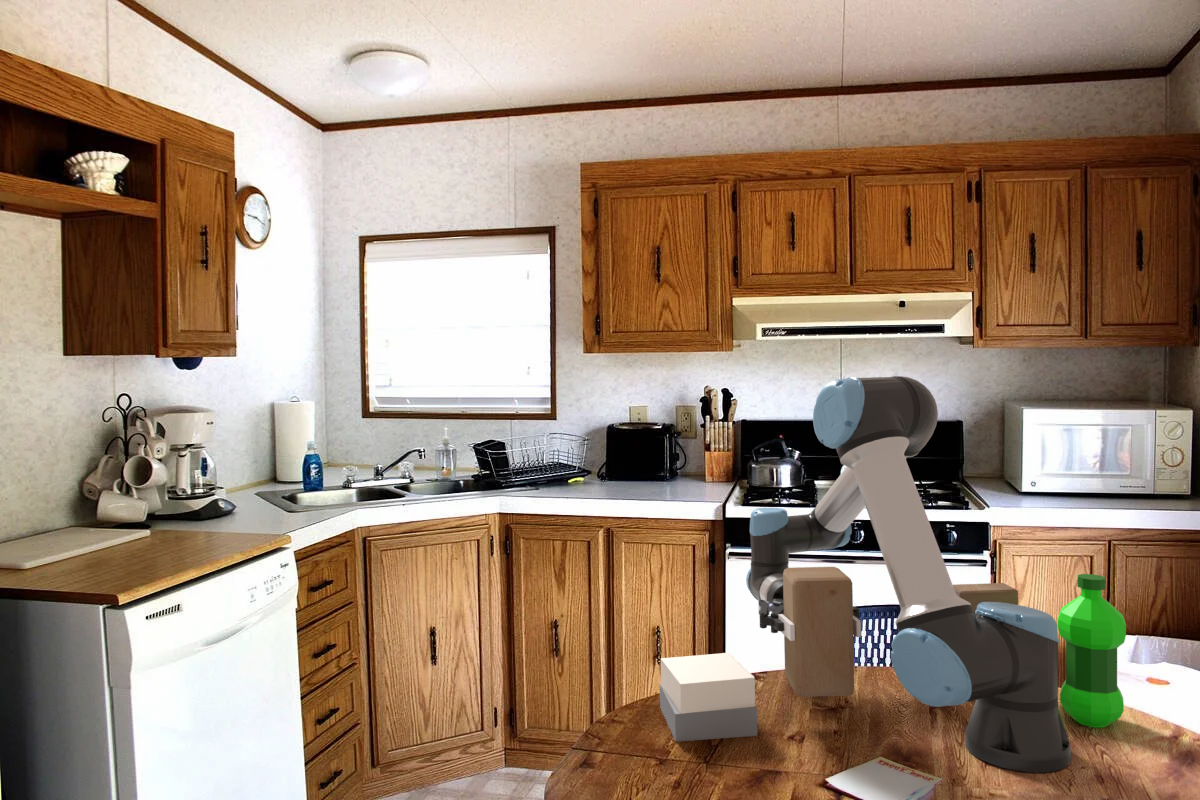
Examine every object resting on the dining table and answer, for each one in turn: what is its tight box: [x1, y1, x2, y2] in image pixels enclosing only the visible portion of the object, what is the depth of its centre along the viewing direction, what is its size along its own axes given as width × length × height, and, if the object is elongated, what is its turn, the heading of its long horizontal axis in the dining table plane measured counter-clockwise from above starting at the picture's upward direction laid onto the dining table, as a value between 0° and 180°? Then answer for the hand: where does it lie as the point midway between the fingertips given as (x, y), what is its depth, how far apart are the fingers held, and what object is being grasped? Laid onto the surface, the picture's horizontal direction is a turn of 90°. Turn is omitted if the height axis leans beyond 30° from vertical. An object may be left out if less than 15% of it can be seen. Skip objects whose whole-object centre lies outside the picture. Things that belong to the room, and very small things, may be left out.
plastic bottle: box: [1057, 573, 1127, 729], centre depth 148 cm, size 10×10×25 cm
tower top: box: [660, 652, 756, 714], centre depth 152 cm, size 13×13×5 cm
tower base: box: [659, 683, 758, 742], centre depth 152 cm, size 14×14×5 cm
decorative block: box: [952, 582, 1019, 617], centre depth 162 cm, size 11×6×20 cm, turn 91°
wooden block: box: [783, 566, 855, 698], centre depth 149 cm, size 10×10×20 cm
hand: (825, 630), depth 145 cm, fingers closed on wooden block, 11 cm apart
